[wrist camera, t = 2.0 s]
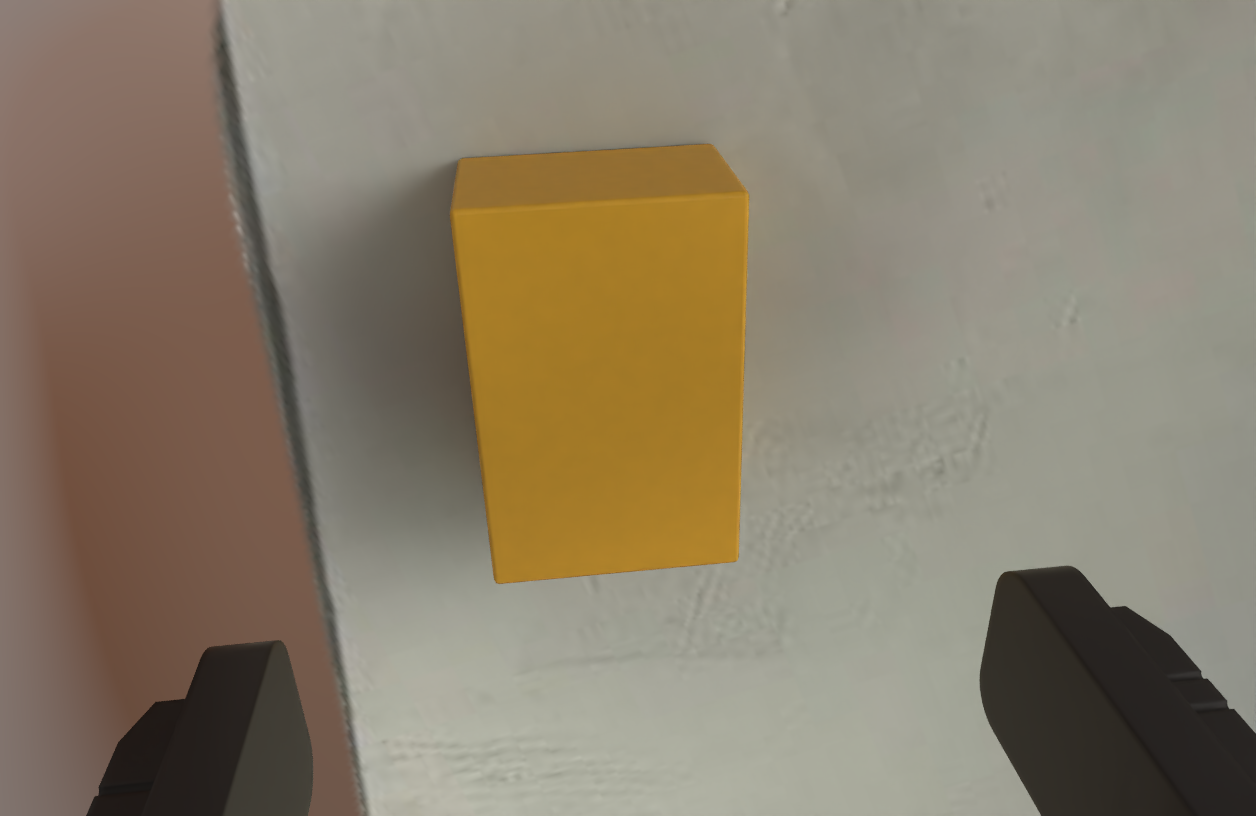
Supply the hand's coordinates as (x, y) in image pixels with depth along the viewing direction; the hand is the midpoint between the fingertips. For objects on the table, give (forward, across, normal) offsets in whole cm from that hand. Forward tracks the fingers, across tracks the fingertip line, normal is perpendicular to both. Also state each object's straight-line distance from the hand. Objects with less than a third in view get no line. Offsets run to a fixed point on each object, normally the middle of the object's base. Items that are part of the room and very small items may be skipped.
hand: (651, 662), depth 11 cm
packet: (+9, 0, 0) cm, 9 cm away
